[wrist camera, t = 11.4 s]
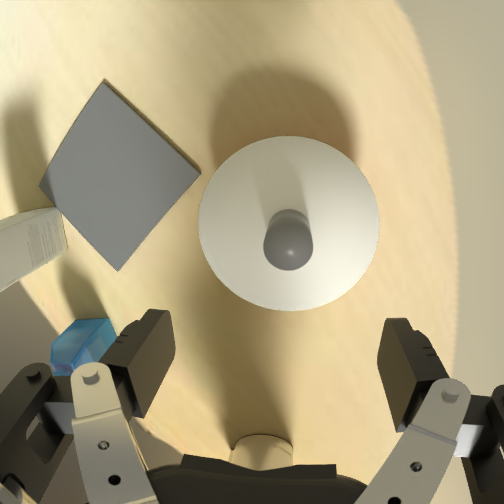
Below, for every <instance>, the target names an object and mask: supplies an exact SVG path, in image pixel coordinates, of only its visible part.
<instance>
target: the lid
mask: <svg viewBox="0 0 504 504" xmlns="http://www.w3.org/2000/svg"><path fill="white" fill-rule="evenodd" d="M379 225H380V220H379V210H378V206H377V202H376V198H375V196H374V193H373V190H372V188H371V186H370V184H369V182H368V181H367V179H366V177H365V176H364V174H363V173H362V172H361V170H360V169H359V168H358V167H357V166H356V165H355V164H354V163H353V162H352V161H351V160H350V159H349V158H348V157H347V156H345V155H344V154H343V153H341V152H340V151H339V150H337V149H335V148H333V147H331V146H329V145H328V144H325V143H322V142H320V141H317V140H314V139H310V138H305V137H298V136H277V137H272V138H266V139H263V140H260V141H257V142H254V143H251V144H249V145H247V146H245V147H243V148H241V149H240V150H238V151H237V152H236V153H234V154H233V155H231V156H230V157H229V158H228V159H227V160H226V161H225V162H223V163H222V164H221V166H220V167H219V168H218V169H217V170H216V172H215V173H214V174H213V176H212V178H211V179H210V181H209V182H208V184H207V187H206V189H205V191H204V193H203V197H202V200H201V204H200V209H199V216H198V229H199V237H200V242H201V246H202V250H203V252H204V255H205V257H206V260H207V262H208V263H209V265H210V267H211V269H212V270H213V272H214V273H215V274H216V276H217V277H218V278H219V279H220V280H221V282H222V283H223V284H224V285H225V286H226V287H227V288H229V289H230V290H231V291H232V292H234V293H235V294H236V295H238V296H239V297H241V298H243V299H244V300H246V301H248V302H250V303H253V304H255V305H258V306H261V307H264V308H268V309H272V310H279V311H301V310H308V309H312V308H316V307H319V306H322V305H324V304H327V303H329V302H331V301H333V300H335V299H337V298H338V297H340V296H341V295H343V294H344V293H345V292H347V291H348V290H349V289H350V288H351V287H352V286H354V285H355V284H356V283H357V281H358V280H359V279H360V278H361V277H362V275H363V274H364V272H365V271H366V269H367V268H368V266H369V264H370V262H371V260H372V258H373V256H374V253H375V250H376V247H377V243H378V237H379Z"/></svg>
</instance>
